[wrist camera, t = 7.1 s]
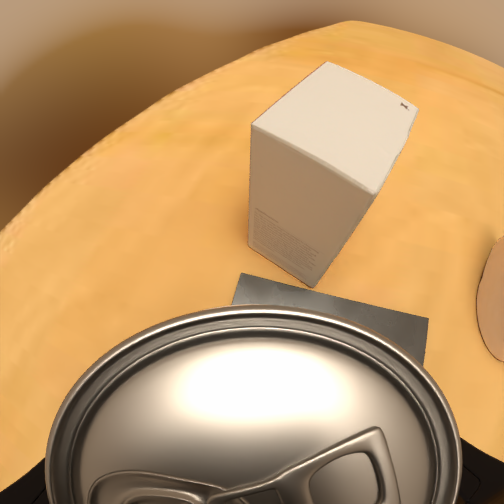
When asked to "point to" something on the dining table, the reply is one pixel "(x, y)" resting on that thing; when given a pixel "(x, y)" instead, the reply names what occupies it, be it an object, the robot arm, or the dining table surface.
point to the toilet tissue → (493, 301)
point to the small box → (321, 166)
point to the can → (255, 417)
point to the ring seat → (339, 311)
